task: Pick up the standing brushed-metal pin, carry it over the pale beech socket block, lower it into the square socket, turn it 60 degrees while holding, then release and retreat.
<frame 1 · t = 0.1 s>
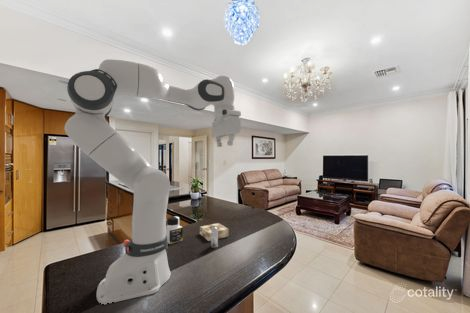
hand: (224, 146, 87), 48 cm above the countertop, fingers open, 8 cm apart
socket block: (214, 235, 110), on the countertop
pin: (214, 246, 96), on the countertop
medicine bottle: (173, 240, 103), on the countertop
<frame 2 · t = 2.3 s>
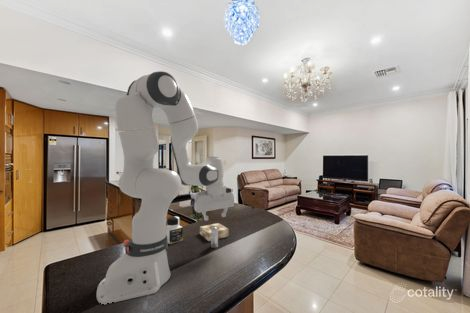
hand: (215, 218, 96), 13 cm above the countertop, fingers open, 8 cm apart
nothing on the countertop moved.
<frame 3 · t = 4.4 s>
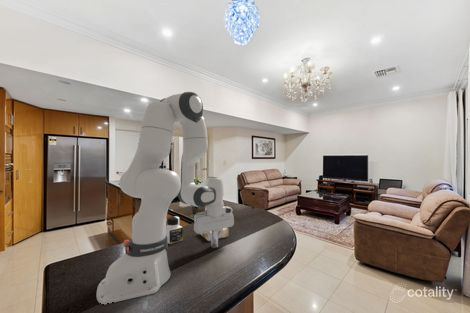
hand: (214, 238, 96), 4 cm above the countertop, fingers closed on pin, 3 cm apart
pin: (214, 246, 96), on the countertop, touching gripper
everything else where it was.
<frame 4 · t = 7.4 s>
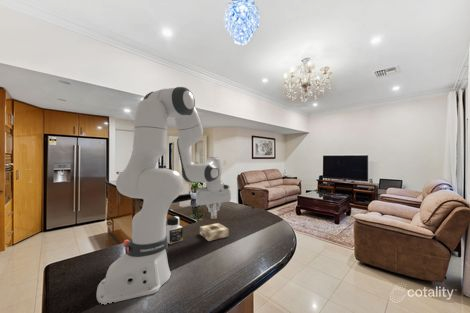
hand: (213, 211, 110), 13 cm above the countertop, fingers closed on pin, 3 cm apart
pin: (213, 217, 110), point 9 cm above the countertop, touching gripper
everything else where it was.
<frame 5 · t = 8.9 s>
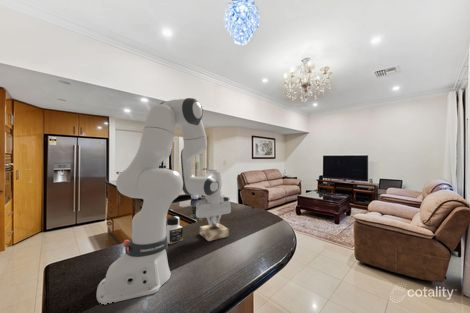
hand: (214, 223, 110), 6 cm above the countertop, fingers closed on pin, 3 cm apart
pin: (214, 230, 110), point 3 cm above the countertop, touching gripper
everything else where it was.
when the fingers open (6 cm above the countertop, at t = 10.5 s): pin drops 2 cm, resting in socket block.
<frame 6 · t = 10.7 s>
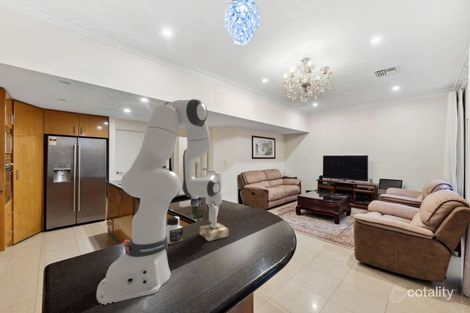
hand: (213, 224, 110), 6 cm above the countertop, fingers open, 5 cm apart
pin: (213, 235, 110), resting in socket block
everything else where it was.
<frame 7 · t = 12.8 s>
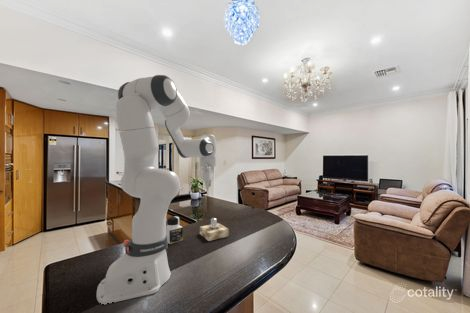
hand: (208, 187, 112), 26 cm above the countertop, fingers open, 8 cm apart
nothing on the countertop moved.
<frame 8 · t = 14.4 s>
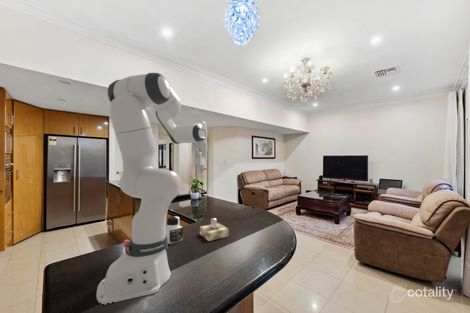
hand: (199, 173, 115), 34 cm above the countertop, fingers open, 8 cm apart
nothing on the countertop moved.
at the end: pin 0.1 cm off-centre on the socket block, point 0.0 cm above the socket block's base; pin tilted 0°; the gripper is holding nothing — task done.
